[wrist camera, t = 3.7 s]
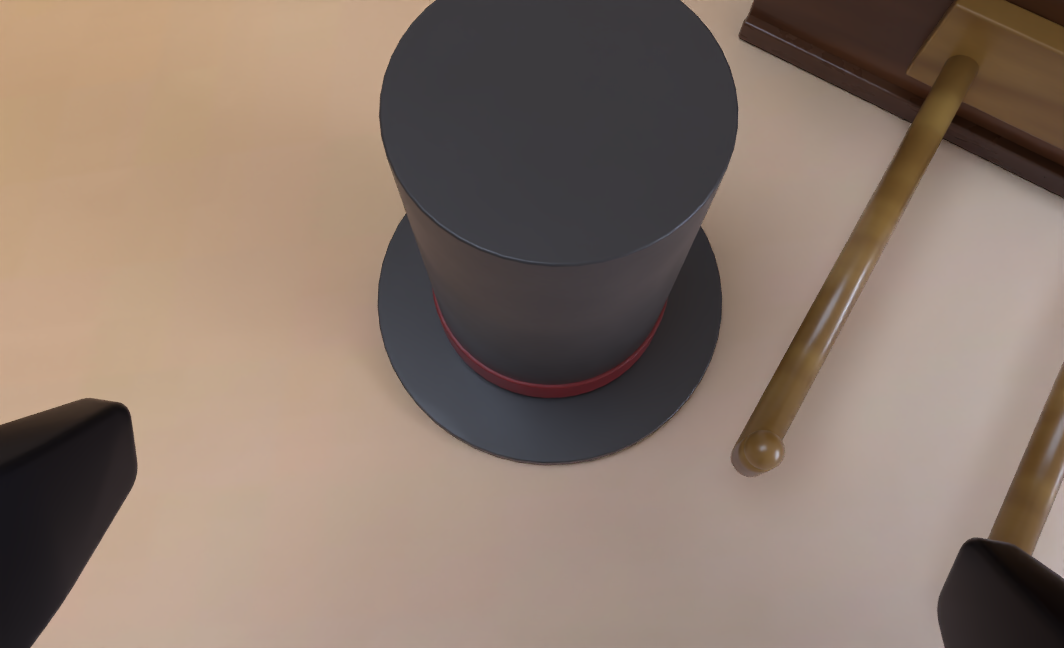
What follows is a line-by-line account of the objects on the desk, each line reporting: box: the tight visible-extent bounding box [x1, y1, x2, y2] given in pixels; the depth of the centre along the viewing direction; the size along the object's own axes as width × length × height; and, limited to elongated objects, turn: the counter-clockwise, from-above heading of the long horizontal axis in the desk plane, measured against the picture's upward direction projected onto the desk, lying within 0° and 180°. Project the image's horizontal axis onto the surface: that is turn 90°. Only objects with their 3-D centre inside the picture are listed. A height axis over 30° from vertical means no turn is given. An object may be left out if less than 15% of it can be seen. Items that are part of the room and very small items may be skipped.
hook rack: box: [731, 0, 1064, 556], centre depth 16 cm, size 19×14×17 cm
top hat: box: [378, 0, 738, 465], centre depth 19 cm, size 10×10×10 cm
